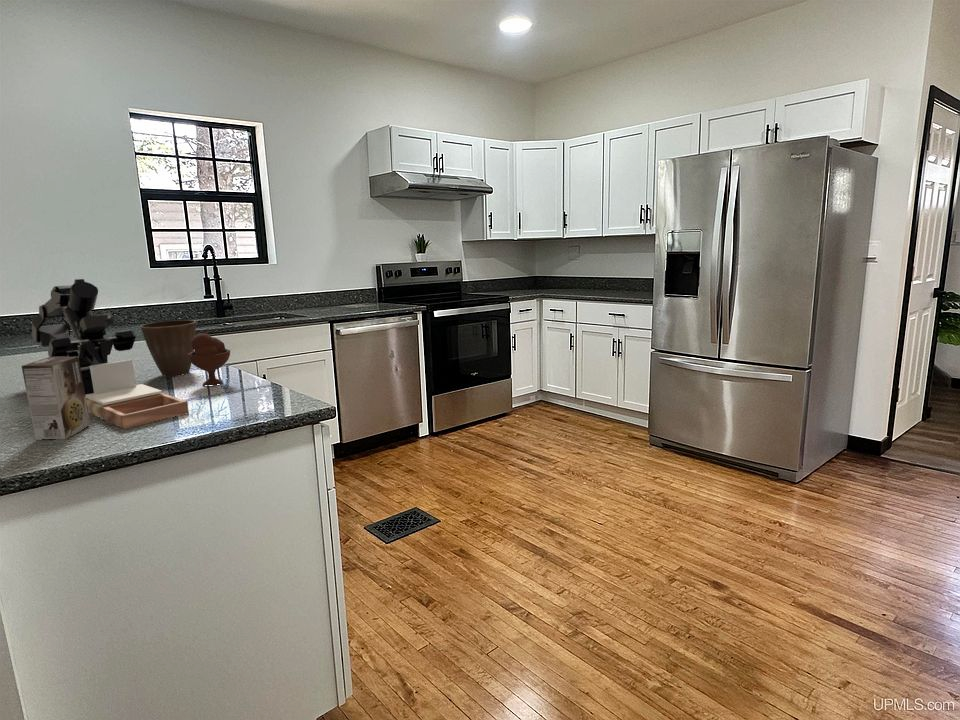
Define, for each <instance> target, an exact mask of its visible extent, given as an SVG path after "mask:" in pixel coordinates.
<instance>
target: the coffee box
mask: <svg viewBox="0 0 960 720" xmlns="http://www.w3.org/2000/svg"><path fill="white" fill-rule="evenodd" d="M20 366H21V371H22V375H23V376H22V377H23V381H24V386H25V391H26V396H27V400H28V401H27V402H28V407H29V412H30V417H31V422H32V428H33V432H34V437H35V440H36V441H43V440H42V439H56V440H67V439H68V438H70V436H71V437H72V436H74V435H76V434H78V433H80V432H81V431H83V430H84V428H85V429H87V428H88V427H90V426H91V425H92V424H91V418H90V413H88V407H87V402H86V396H85V390H84V385H83V379H82V374H81V368H80V363H79V358H78V356H76V357H67V356H59V357H49V356H47V357H46V358H42V359H39V360H35V361H32V362H29V363H27V364H24V365H20ZM89 425H90V426H89ZM87 426H88V427H87ZM86 427H87V428H86ZM82 429H83V430H82ZM77 432H78V433H77Z"/></svg>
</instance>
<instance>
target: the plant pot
mask: <svg viewBox="0 0 960 720" xmlns="http://www.w3.org/2000/svg"><path fill="white" fill-rule="evenodd" d="M196 326H197V325H196V320H194V319H193V320H191V319H179V320H162V321H156V322H148V323H145V324H141V325H140V329H141V332H142V335H143V338H144V341H145V343H146V346H147V348H148V350H149V351H148V352H150V355H151V356H152V357H151V358H152V360H153V361H154V363H155V365H156V366H157V369H158V370H159V372H160V373H161V375H162V376H163V377H168V376H170V377H177V376H176V375H180V376H183V375H182V374H184V375H187V374H189V373H190V371H191V367H192V363H191V362H190V360H189V358H188V355H187V354H189V353H191V352H193V351H195V350H194V349H193V348H192V347H191V341H192V339H193V337H194V336H196V329H197V328H196ZM188 372H189V373H188ZM186 373H187V374H186Z"/></svg>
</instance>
